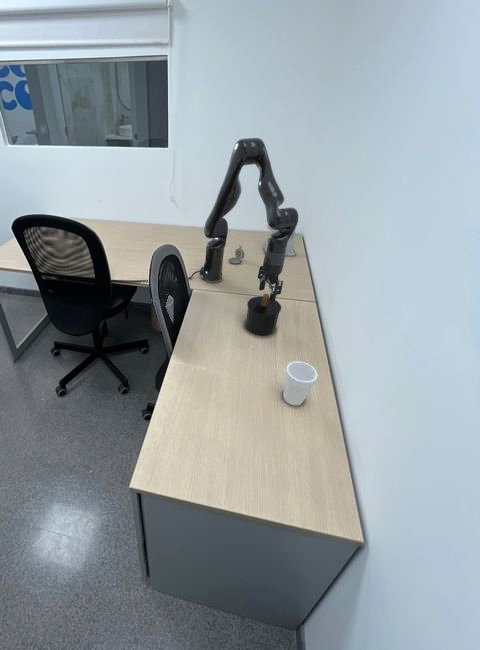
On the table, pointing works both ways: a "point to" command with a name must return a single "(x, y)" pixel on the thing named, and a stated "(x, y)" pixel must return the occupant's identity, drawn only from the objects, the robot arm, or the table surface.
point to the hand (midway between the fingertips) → (266, 295)
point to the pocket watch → (237, 252)
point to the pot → (260, 323)
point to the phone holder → (289, 247)
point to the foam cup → (298, 382)
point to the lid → (264, 305)
